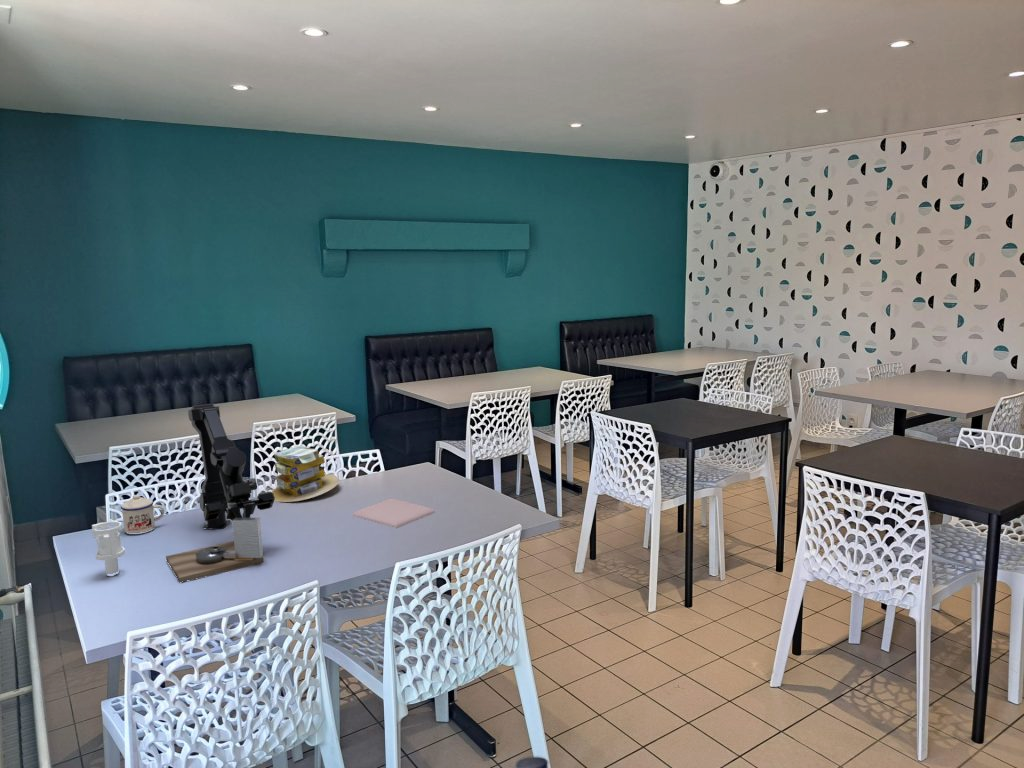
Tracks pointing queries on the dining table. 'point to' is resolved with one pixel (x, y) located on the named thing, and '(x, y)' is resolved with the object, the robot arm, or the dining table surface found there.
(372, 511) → the panel
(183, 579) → the walnut stand plate
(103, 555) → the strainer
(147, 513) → the teacup with lid
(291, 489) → the stacked boxes on plate
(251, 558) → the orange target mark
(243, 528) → the lever
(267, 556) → the dining table surface
